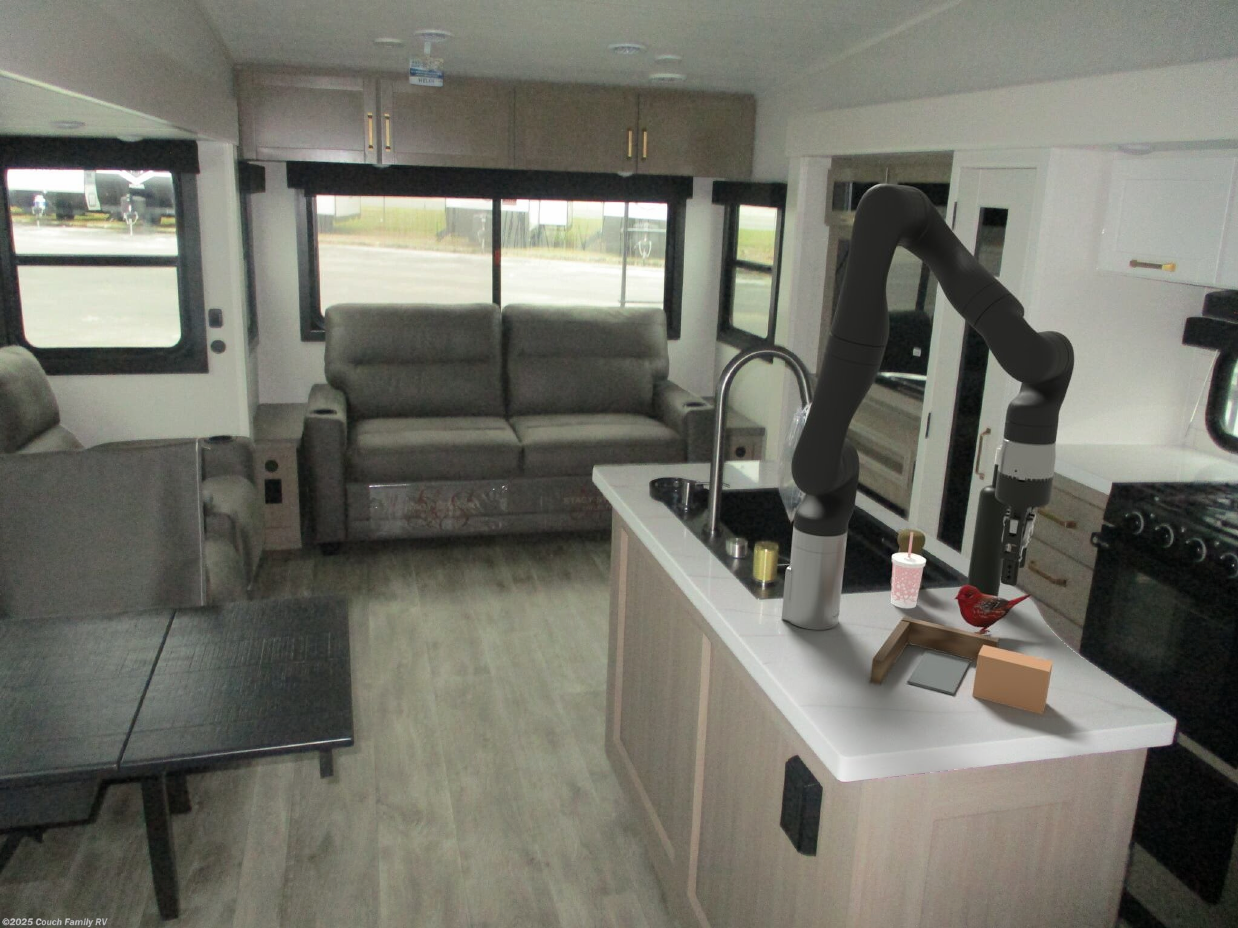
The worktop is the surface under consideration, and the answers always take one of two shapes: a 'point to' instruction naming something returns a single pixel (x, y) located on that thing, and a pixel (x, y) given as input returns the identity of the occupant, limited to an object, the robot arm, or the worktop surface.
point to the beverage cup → (906, 577)
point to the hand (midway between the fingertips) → (1012, 575)
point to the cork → (917, 543)
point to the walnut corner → (926, 643)
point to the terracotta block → (1012, 679)
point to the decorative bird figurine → (983, 607)
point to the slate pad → (939, 672)
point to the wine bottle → (988, 539)
